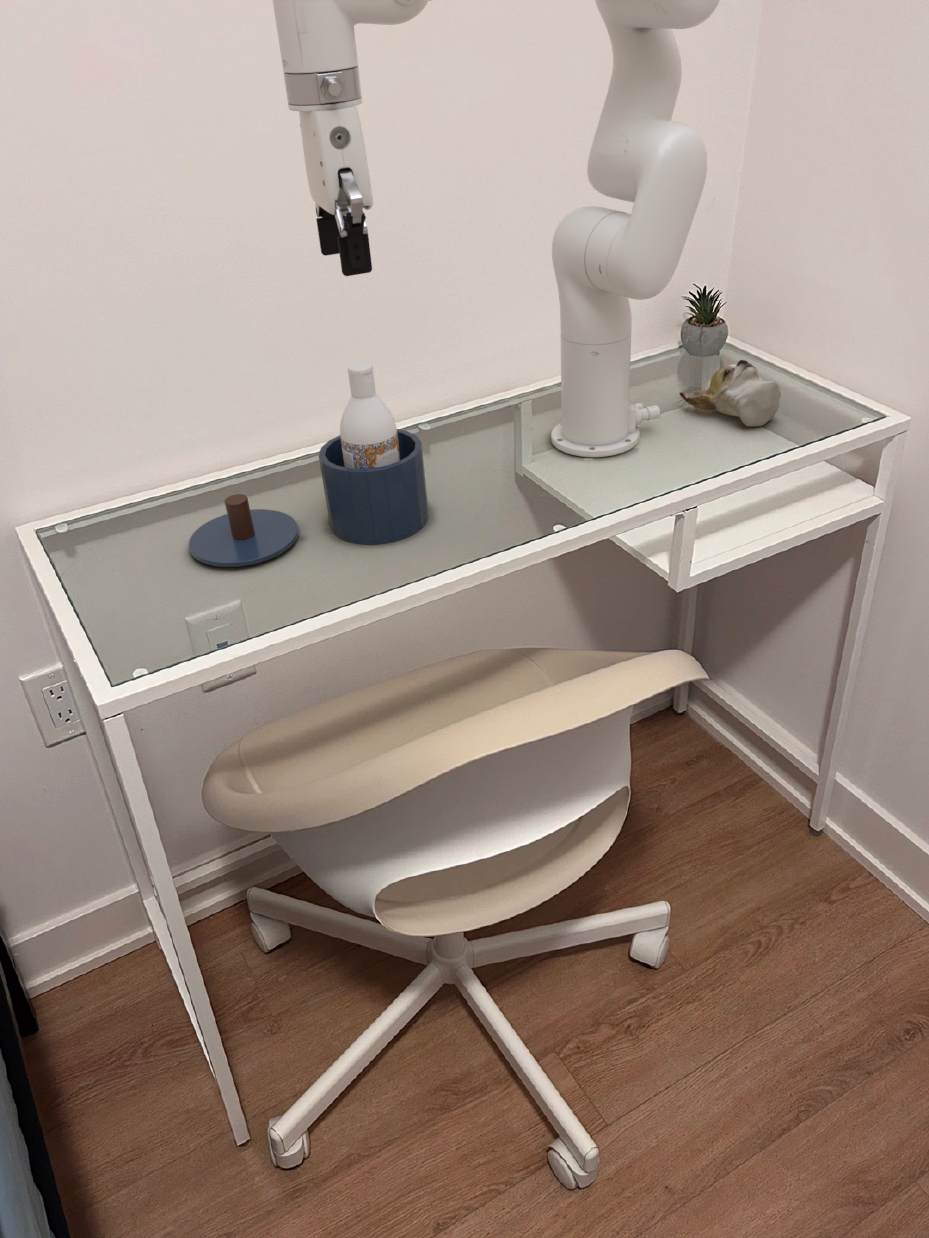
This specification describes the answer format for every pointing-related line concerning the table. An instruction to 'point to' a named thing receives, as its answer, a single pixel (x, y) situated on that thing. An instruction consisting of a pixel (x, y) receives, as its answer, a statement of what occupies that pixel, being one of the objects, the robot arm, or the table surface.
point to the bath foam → (367, 424)
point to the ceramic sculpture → (738, 394)
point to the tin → (375, 494)
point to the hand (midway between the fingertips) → (346, 263)
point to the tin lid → (243, 535)
